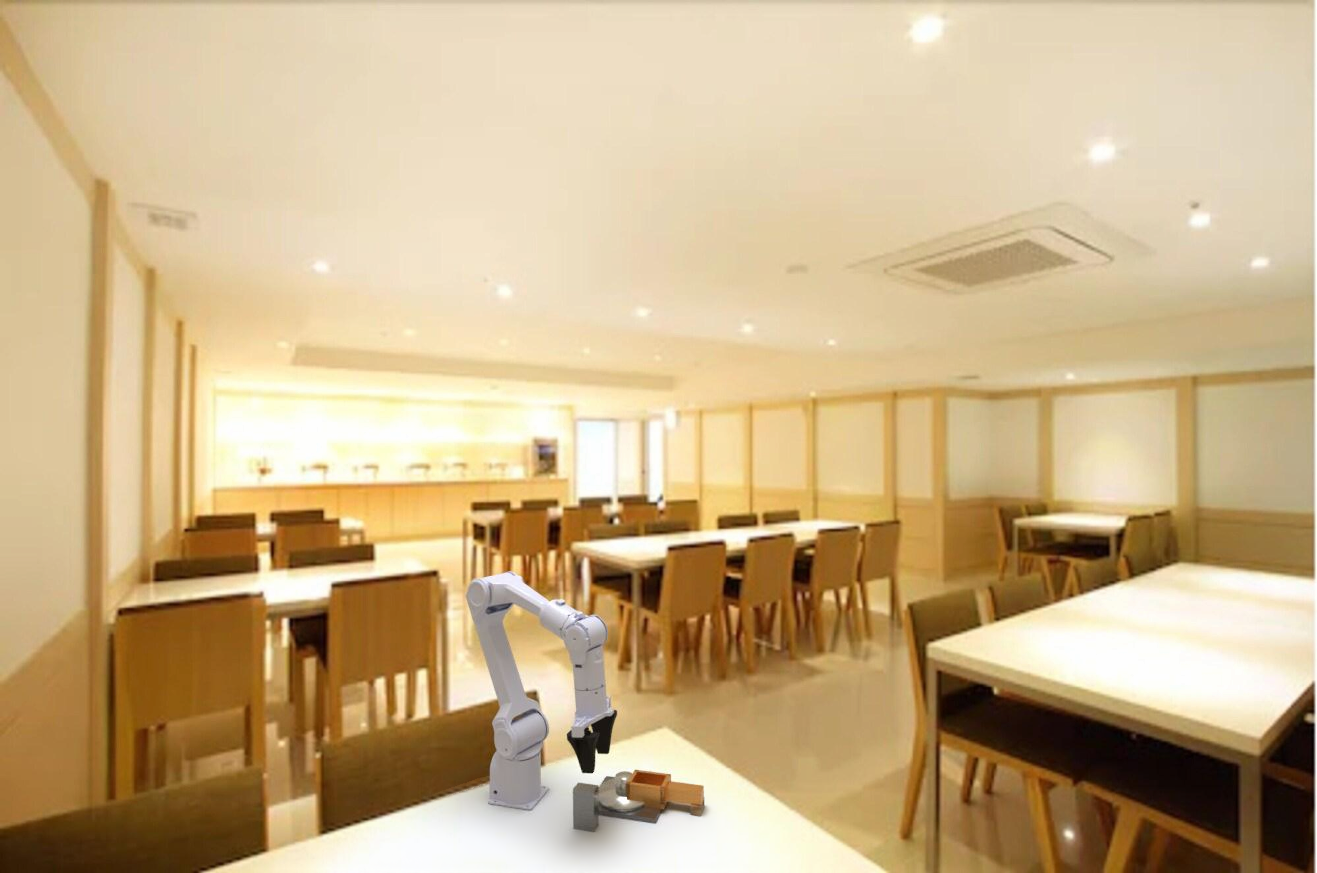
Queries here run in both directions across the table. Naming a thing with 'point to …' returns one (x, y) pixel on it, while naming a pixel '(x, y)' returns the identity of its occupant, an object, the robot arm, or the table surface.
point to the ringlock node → (646, 795)
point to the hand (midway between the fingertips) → (596, 762)
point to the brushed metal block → (585, 807)
